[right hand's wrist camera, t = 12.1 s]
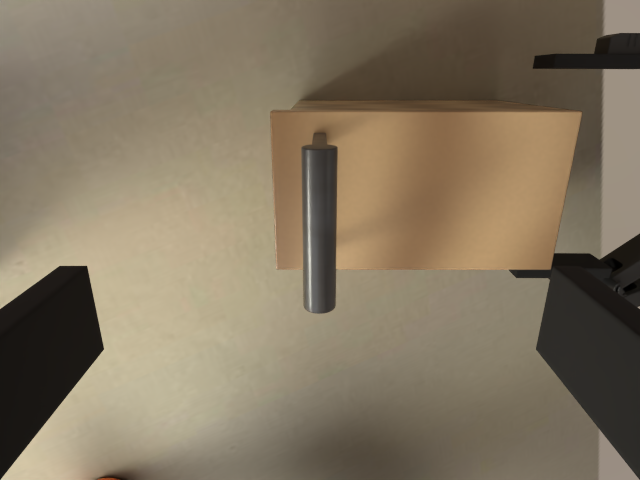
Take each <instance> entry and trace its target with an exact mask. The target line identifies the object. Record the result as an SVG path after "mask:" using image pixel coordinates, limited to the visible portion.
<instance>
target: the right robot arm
mask: <svg viewBox="0 0 640 480" xmlns="http://www.w3.org/2000/svg"><path fill="white" fill-rule="evenodd" d="M103 350H104V347H103V342H102V337H101V332H100V327H99V322H98V317H97V313H96V308H95V303H94V298H93V293H92V288H91V283H90V278H89V273H88V268H87V266H59V267H58V268H56V269H55V270H54V271H52V272H51V273H50V274H48V275H47V276H45V277H44V278H43V279H41V280H40V281H39V282H37V283H36V284H34V285H33V286H32V287H30V288H29V289H28V290H26V291H25V292H23V293H22V294H21V295H19V296H18V297H16V298H15V299H14V300H12V301H11V302H10V303H8V304H7V305H5V306H4V307H3V308H1V309H0V479H1V478H2V477H3V476H4V474H5V473H6V472H7V471H8V469H9V468H10V467H11V466H12V464H13V463H14V462H15V461H16V459H17V458H18V457H19V456H20V454H21V453H22V452H23V450H24V449H25V448H26V447H27V445H28V444H29V443H30V442H31V440H32V439H33V438H34V437H35V435H36V434H37V433H38V432H39V430H40V429H41V428H42V427H43V425H44V424H45V423H46V422H47V420H48V419H49V418H50V416H51V415H52V414H53V413H54V411H55V410H56V409H57V408H58V406H59V405H60V404H61V403H62V401H63V400H64V399H65V398H66V396H67V395H68V394H69V393H70V391H71V390H72V389H73V388H74V386H75V385H76V384H77V382H78V381H79V380H80V379H81V377H82V376H83V375H84V374H85V372H86V371H87V370H88V369H89V367H90V366H91V365H92V364H93V362H94V361H95V360H96V359H97V357H98V356H99V355H100V354H101V352H102V351H103ZM536 350H537V351H538V352H539V354H540V355H541V356H542V357H543V359H544V360H545V361H546V362H547V364H548V365H549V366H550V367H551V369H552V370H553V371H554V372H555V374H556V375H557V376H558V377H559V379H560V380H561V381H562V382H563V384H564V385H565V386H566V388H567V389H568V390H569V391H570V393H571V394H572V395H573V396H574V398H575V399H576V400H577V401H578V403H579V404H580V405H581V406H582V408H583V409H584V410H585V411H586V413H587V414H588V415H589V416H590V418H591V419H592V420H593V422H594V423H595V424H596V425H597V427H598V428H599V429H600V430H601V432H602V433H603V434H604V435H605V437H606V438H607V439H608V440H609V442H610V443H611V444H612V445H613V447H614V448H615V449H616V450H617V452H618V453H619V454H620V455H621V457H622V458H623V459H624V460H625V462H626V463H627V464H628V466H629V467H630V468H631V469H632V471H633V472H634V473H635V474H636V476H637V477H638V478H639V479H640V309H639V308H637V307H636V306H635V305H633V304H632V303H630V302H629V301H628V300H626V299H625V298H624V297H622V296H621V295H619V294H618V293H617V292H615V291H614V290H612V289H611V288H610V287H608V286H607V285H606V284H604V283H603V282H601V281H600V280H599V279H597V278H596V277H595V276H593V275H592V274H590V273H589V272H588V271H586V270H585V269H584V268H582V267H581V266H553V268H552V273H551V278H550V283H549V288H548V293H547V298H546V303H545V308H544V313H543V317H542V322H541V327H540V332H539V337H538V342H537V347H536Z"/></svg>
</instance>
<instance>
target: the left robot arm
mask: <svg viewBox="0 0 640 480" xmlns="http://www.w3.org/2000/svg"><path fill="white" fill-rule="evenodd" d="M533 69H640V33H619V34H612V35H606V36H603V37H601V38H598V39H597V42H596V47H595V52H594V54H549V55H539V56H535V58H534V64H533ZM553 266H581V267H582V268H584V269H585V270H586V271H588V272H589V273H590V274H592V275H593V276H595V277H596V278H597V279H599V280H600V281H601V282H603V283H604V284H606V285H607V286H608V287H610V288H611V289H612V290H614V291H615V292H617V293H618V294H619V295H621V296H622V297H624V298H625V299H626V300H628V301H629V302H630V303H632V304H633V305H635V306H636V307H638V306H640V234H639V235H637V236H635V237H634V238H632V239H631V240H629V241H628V242H626V243H625V244H623V245H622V246H620V247H619V248H617V249H615V250H614V251H612V252H611V253H609V254H608V255H606V256H605V257H603V258H602V259H600V260H599V259H597V258H596V257H594V256H593V255H591V254H574V253H554V256H553V261H552V266H551V269H550V270H509V271H510V272H511V273H512V274H513V275H514V276H515V277H516V278H549V279H550V278H551V273H552V268H553Z"/></svg>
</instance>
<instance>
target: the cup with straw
mask: <svg viewBox="0 0 640 480" xmlns="http://www.w3.org/2000/svg"><path fill="white" fill-rule="evenodd" d="M97 480H119V479H115V478H101V479H97Z"/></svg>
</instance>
